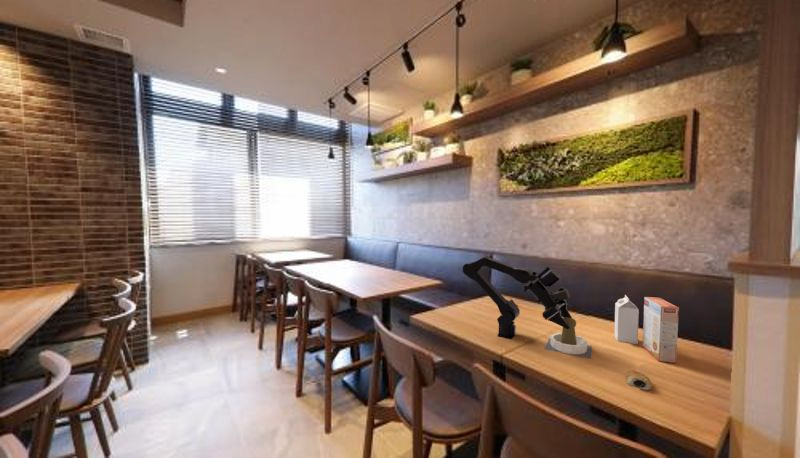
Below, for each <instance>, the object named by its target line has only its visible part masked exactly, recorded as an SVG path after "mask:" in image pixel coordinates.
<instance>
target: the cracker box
mask: <svg viewBox="0 0 800 458" xmlns="http://www.w3.org/2000/svg"><path fill="white" fill-rule="evenodd" d="M643 301H644V302H643V320H642V321H643V325H642V326H643V327H642V347H643V349H644V350H645V351H647V352H648V353H649V354H650V355H651V356H652V357H654V358H655V360H657V362H664V363H672V364H673V363H674V364H677V356H678V355H677V352H678V334H679V313H680V307H678V306H677V305H674V304H672V303H671V302H668V301H666V300H665V299H663V298H661V297H651V296H644V299H643Z"/></svg>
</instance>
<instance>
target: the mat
mask: <svg viewBox="0 0 800 458" xmlns="http://www.w3.org/2000/svg"><path fill="white" fill-rule="evenodd" d="M550 338H551V337H550ZM550 338H548V340H547V341H546V342H547V343H546V344H545V347H544V350H546V351H551V352H556V353H560V354H561V353H562V352H559V351H557V350H555V349H553V348H552V347H551V343H550ZM592 348H593V346H592V345H588V344H587V352H586V353H585V354H581V355H574V356H575V357H582V358H586V359H592V351H593V349H592ZM562 354H563V353H562ZM564 354H566V353H564ZM566 355H567V354H566ZM569 355H570V356H573V355H572V354H569Z"/></svg>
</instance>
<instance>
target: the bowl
mask: <svg viewBox="0 0 800 458" xmlns="http://www.w3.org/2000/svg"><path fill="white" fill-rule="evenodd" d="M561 335H562V332H561V333H560V332H557V333H553V334H551V335H550V343H551V347H552V348H553V349H555V350H557V351H559V352H558V353H560V352H562V354H565V353H566V355H570V354H572V355H571V356H575V355H581V354H585V353H586V352H587V345H588V342H589V341H588V340H587V339H586V338H584V337H582V336H578V335H576V334H575V335H576V343H577V345H569V344H564V343H561V342H560V341H561Z"/></svg>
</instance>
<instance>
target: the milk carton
mask: <svg viewBox="0 0 800 458" xmlns="http://www.w3.org/2000/svg"><path fill="white" fill-rule="evenodd" d="M614 305H615V306H614V338H615V339H616V341H617V342H623V343H629V344H630V345H631V344H632V345H638V343H639V342H638V341H639V339H638V338H639V317H640V316H639V313H640V312H639V311H640V310H639V308H638V307H637V305H636V304H634V303H633V302H632V301H631V300H630V298H629V297H628V296H627V295H626V294H624V297H623V298H619V299H618V300H617V302H615V303H614Z"/></svg>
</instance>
